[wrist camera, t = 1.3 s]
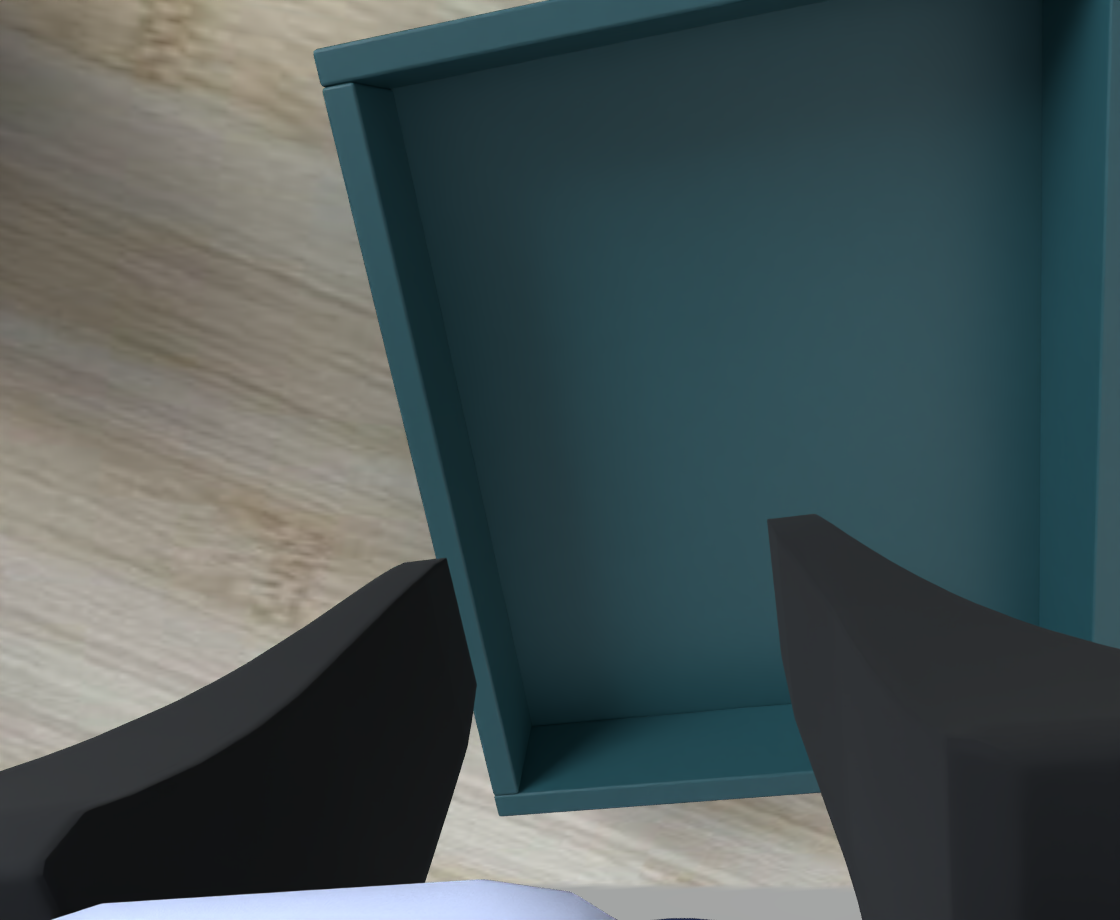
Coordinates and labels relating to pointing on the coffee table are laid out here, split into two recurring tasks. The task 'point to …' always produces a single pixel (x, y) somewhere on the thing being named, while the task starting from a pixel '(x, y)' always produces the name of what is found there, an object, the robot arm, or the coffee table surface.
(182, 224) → the coffee table surface
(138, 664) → the coffee table surface
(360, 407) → the coffee table surface
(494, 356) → the tray
